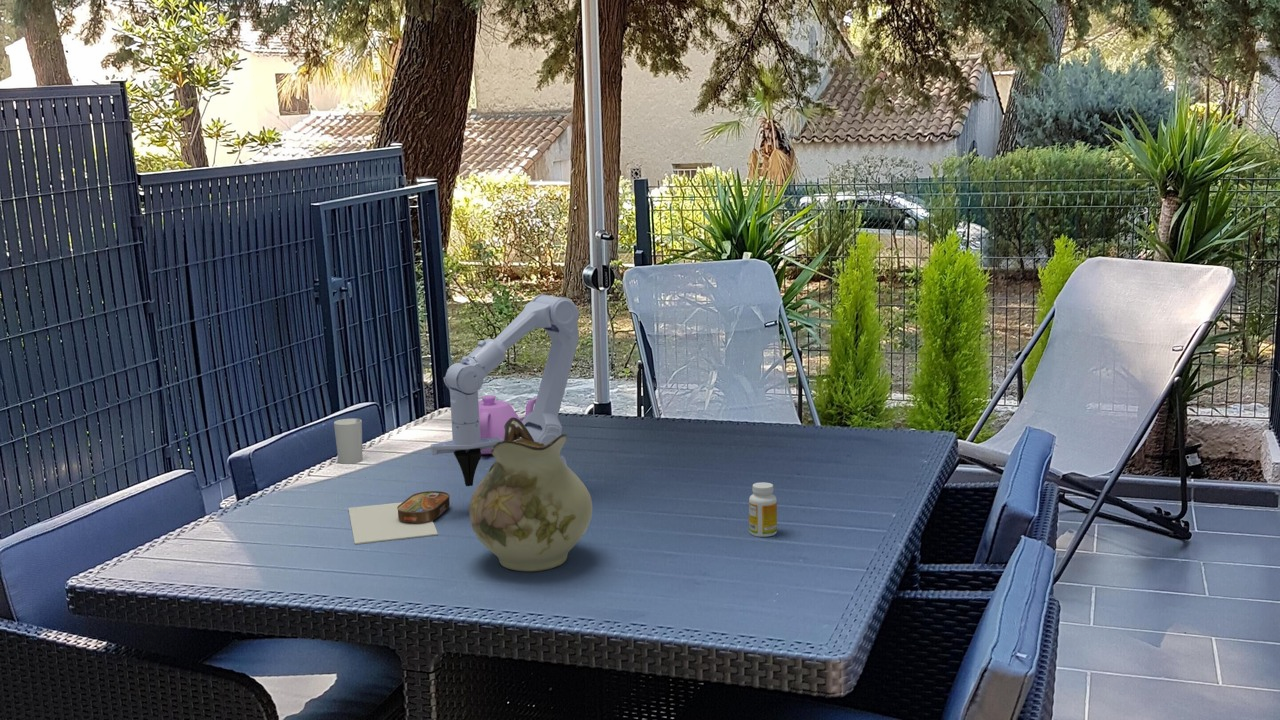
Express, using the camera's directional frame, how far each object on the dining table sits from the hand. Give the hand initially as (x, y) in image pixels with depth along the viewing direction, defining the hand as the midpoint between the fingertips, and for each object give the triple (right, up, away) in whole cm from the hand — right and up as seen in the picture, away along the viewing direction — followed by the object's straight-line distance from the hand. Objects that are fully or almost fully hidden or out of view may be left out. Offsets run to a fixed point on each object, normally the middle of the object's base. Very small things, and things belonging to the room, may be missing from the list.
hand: (468, 484), depth 242 cm
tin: (-5, -5, 0) cm, 7 cm away
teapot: (0, +3, +54) cm, 54 cm away
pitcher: (+15, -11, -27) cm, 33 cm away
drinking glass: (-36, +1, +45) cm, 58 cm away
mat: (-15, -7, -3) cm, 17 cm away
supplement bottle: (+60, -8, -15) cm, 62 cm away
